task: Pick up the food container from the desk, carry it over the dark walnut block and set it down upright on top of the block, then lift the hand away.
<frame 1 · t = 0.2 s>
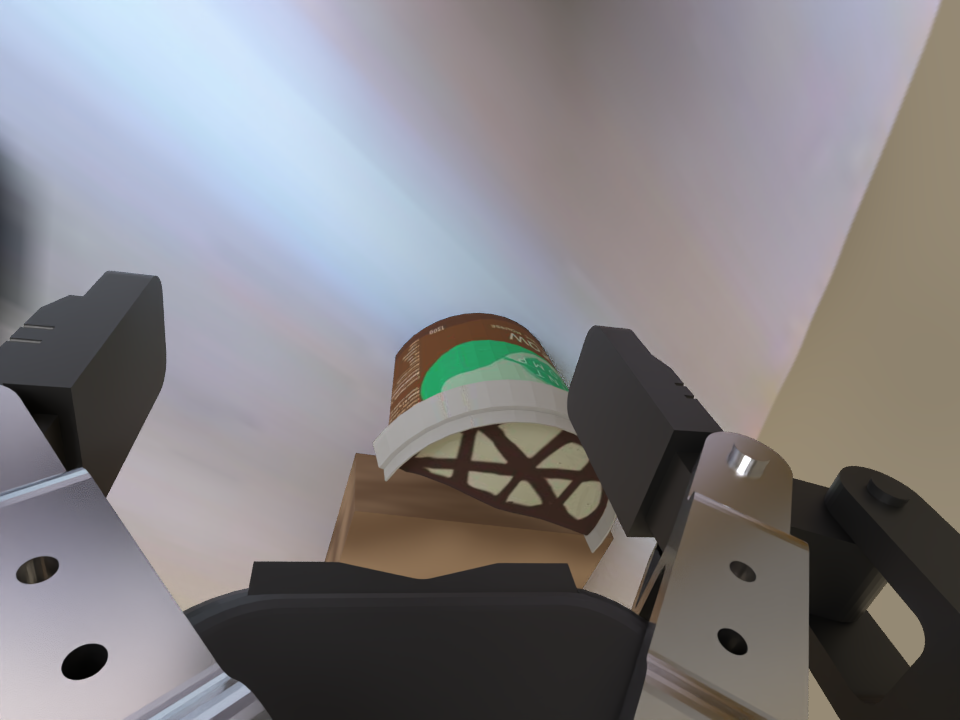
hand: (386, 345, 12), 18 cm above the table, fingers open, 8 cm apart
food container: (496, 346, 34), on the table
walnut block: (448, 538, 42), on the table
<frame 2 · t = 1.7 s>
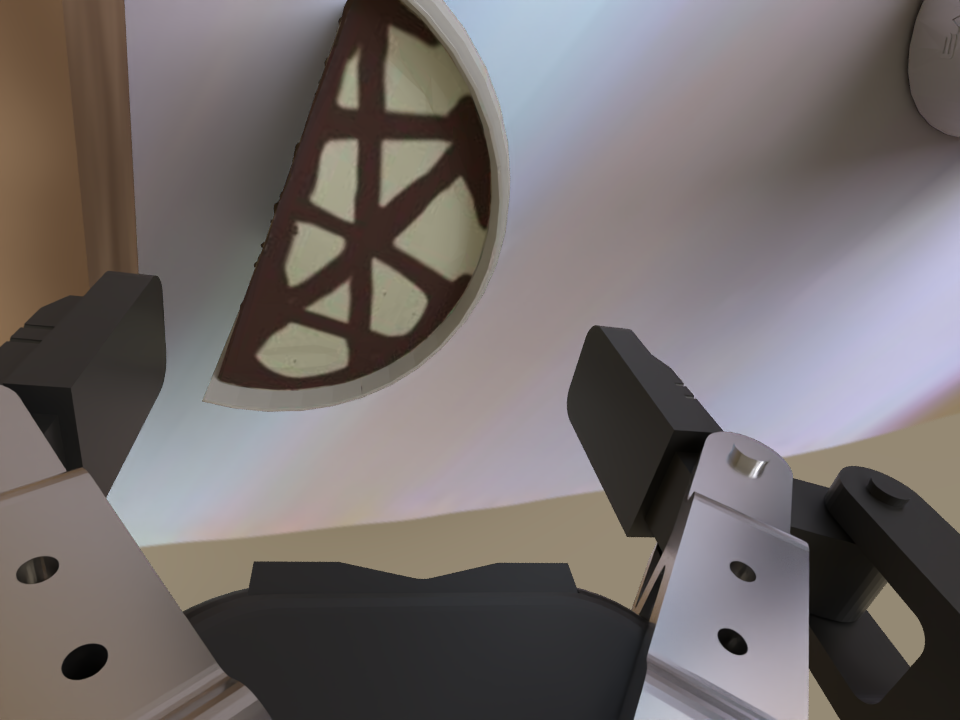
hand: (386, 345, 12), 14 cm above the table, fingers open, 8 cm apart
food container: (383, 165, 24), on the table
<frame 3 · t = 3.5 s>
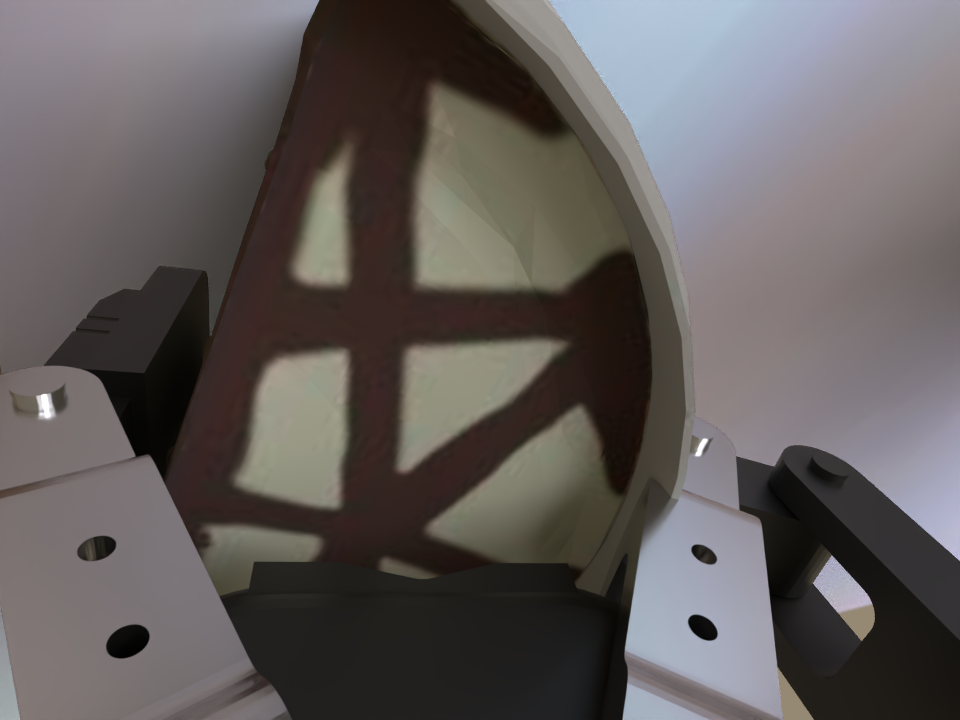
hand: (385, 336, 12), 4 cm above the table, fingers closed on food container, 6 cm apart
food container: (390, 260, 15), on the table, touching gripper
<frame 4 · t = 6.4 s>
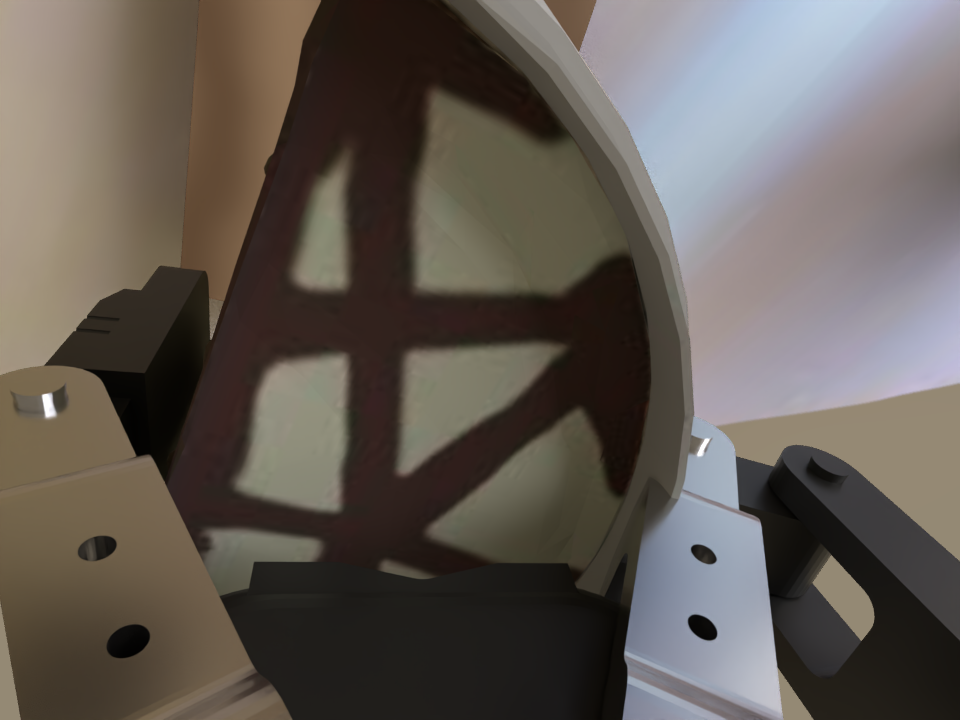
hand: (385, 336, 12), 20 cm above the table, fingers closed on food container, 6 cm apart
food container: (389, 261, 15), point 16 cm above the table, touching gripper
walnut block: (373, 132, 29), on the table
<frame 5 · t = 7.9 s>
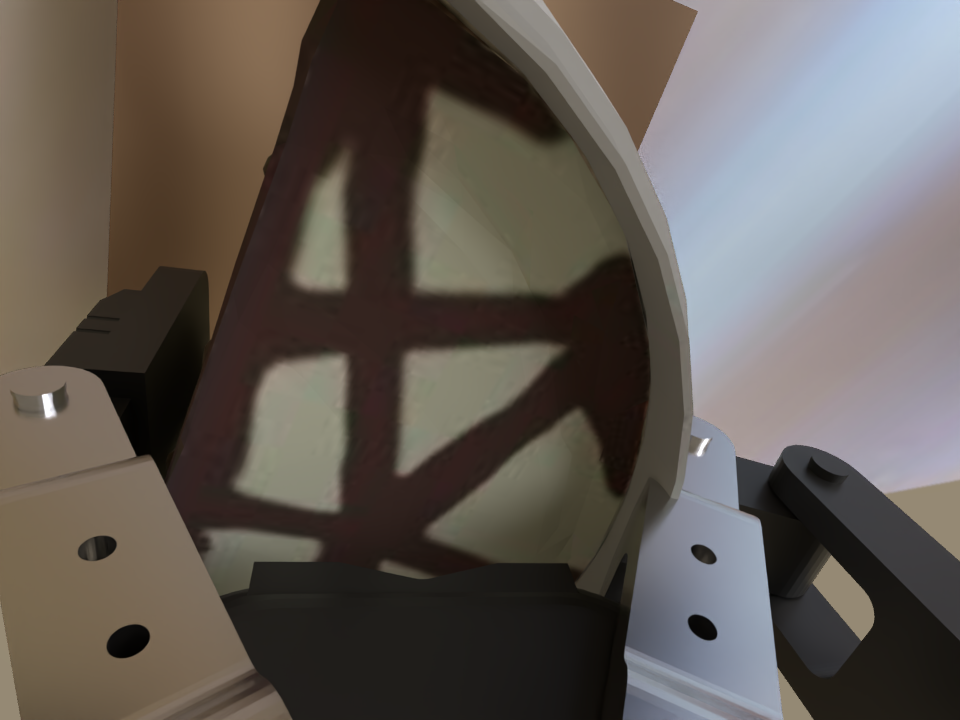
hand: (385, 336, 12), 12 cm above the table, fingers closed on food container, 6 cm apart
food container: (388, 261, 15), point 8 cm above the table, touching gripper
walnut block: (372, 178, 22), on the table
when the fingers open (10 cm above the table, at t = 9.2 s): food container drops 2 cm, resting on walnut block.
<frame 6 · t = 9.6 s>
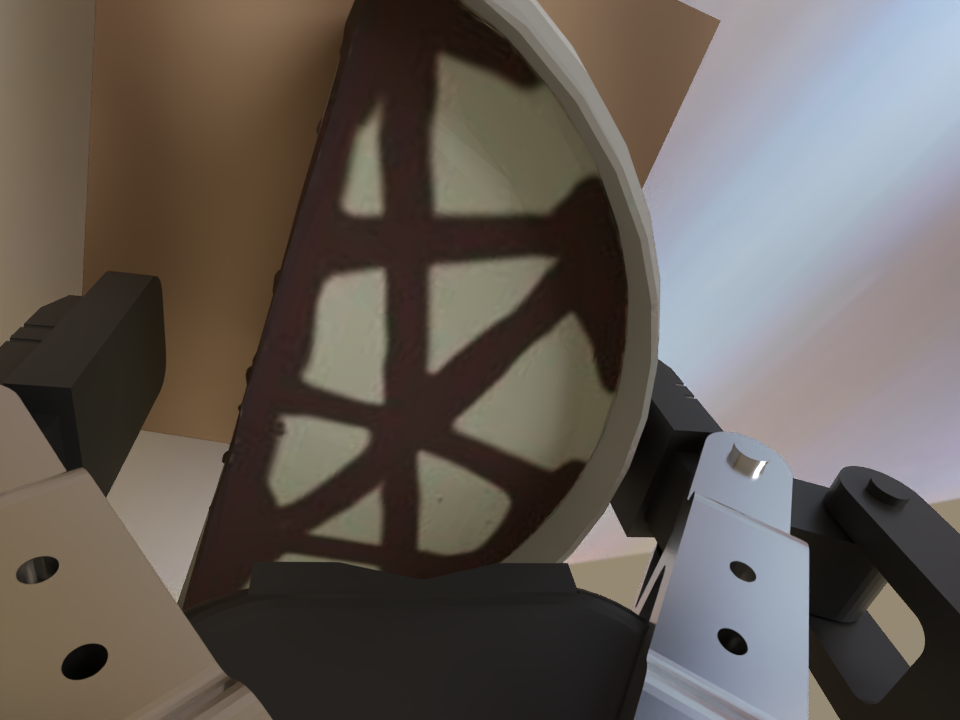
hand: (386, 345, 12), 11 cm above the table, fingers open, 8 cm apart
food container: (416, 237, 17), point 4 cm above the table, touching gripper, walnut block
walnut block: (370, 188, 21), on the table, touching food container
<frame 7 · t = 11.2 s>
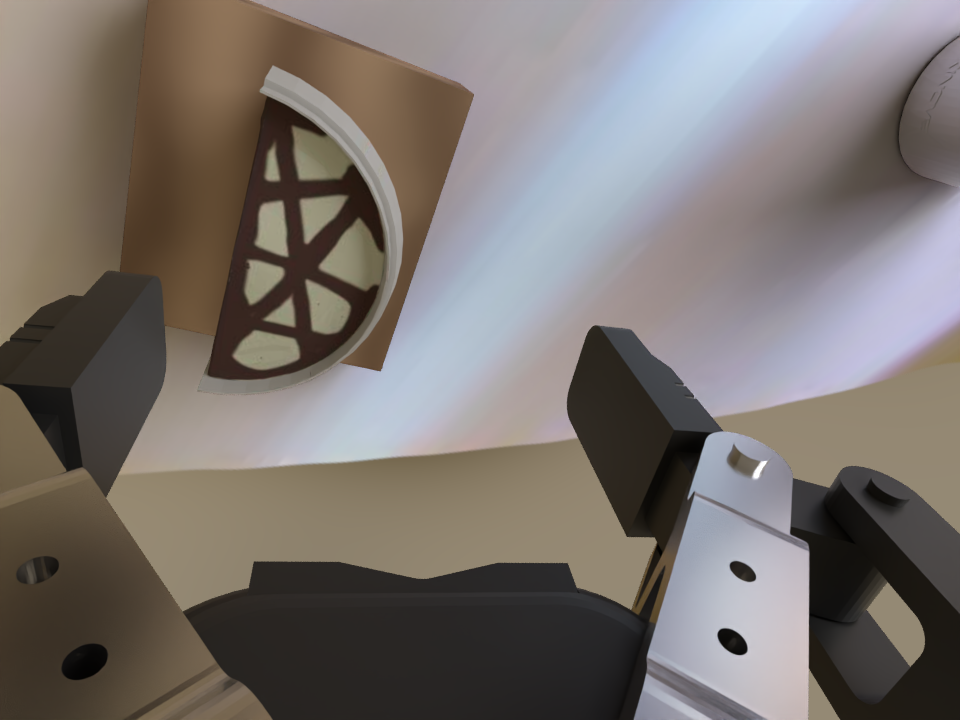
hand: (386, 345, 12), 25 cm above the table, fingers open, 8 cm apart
food container: (329, 203, 30), point 4 cm above the table, touching walnut block
walnut block: (295, 182, 34), on the table, touching food container
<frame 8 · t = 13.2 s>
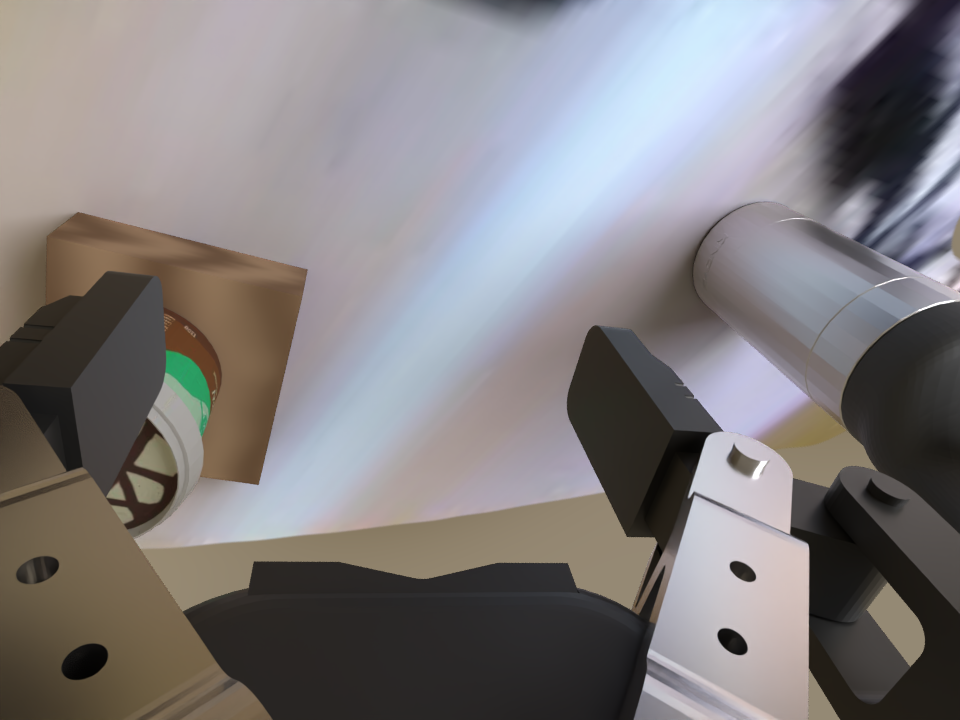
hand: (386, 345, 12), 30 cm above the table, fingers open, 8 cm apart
food container: (192, 375, 39), point 4 cm above the table
walnut block: (186, 341, 43), on the table
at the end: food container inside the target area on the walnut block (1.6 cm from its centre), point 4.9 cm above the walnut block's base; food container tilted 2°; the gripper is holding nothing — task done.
